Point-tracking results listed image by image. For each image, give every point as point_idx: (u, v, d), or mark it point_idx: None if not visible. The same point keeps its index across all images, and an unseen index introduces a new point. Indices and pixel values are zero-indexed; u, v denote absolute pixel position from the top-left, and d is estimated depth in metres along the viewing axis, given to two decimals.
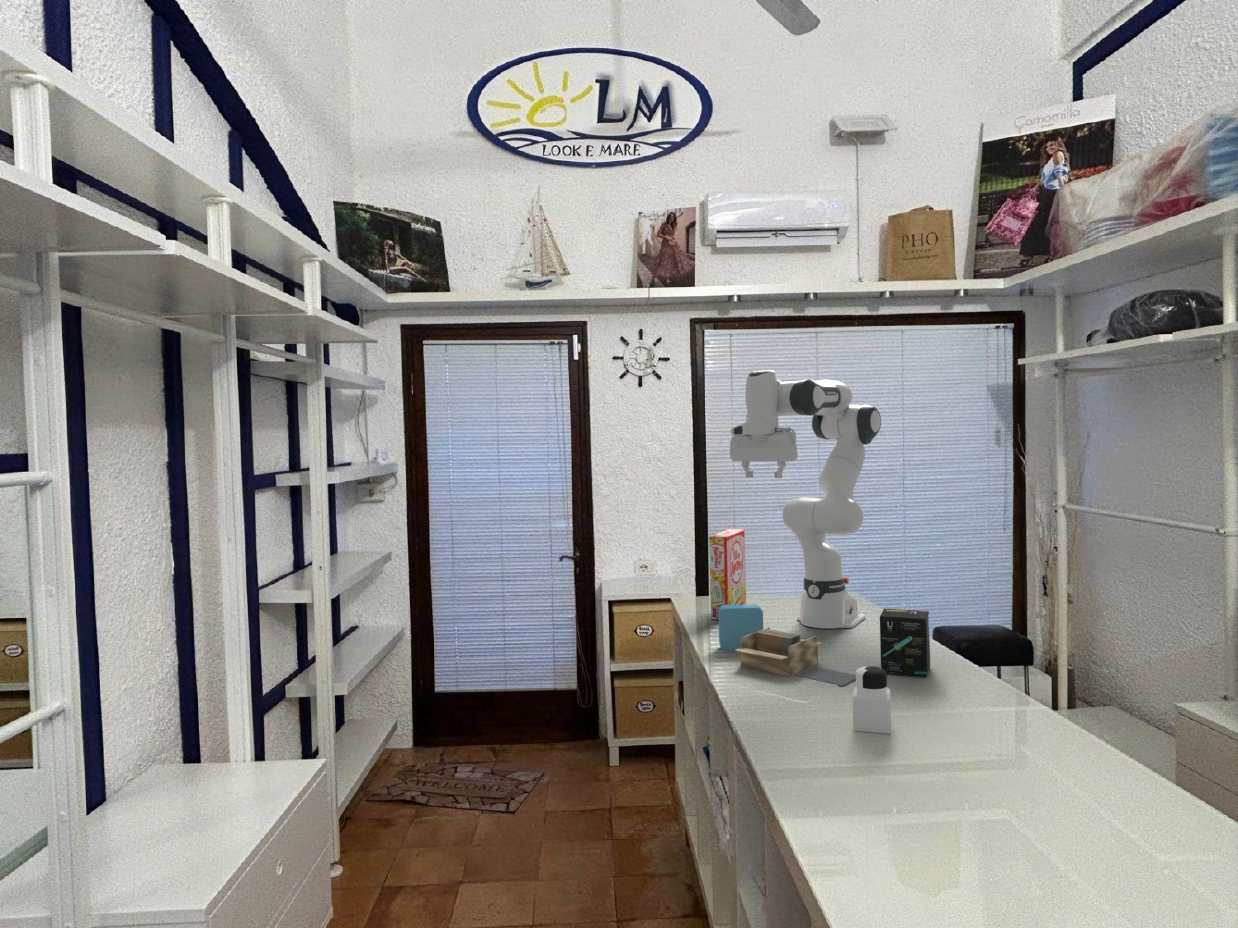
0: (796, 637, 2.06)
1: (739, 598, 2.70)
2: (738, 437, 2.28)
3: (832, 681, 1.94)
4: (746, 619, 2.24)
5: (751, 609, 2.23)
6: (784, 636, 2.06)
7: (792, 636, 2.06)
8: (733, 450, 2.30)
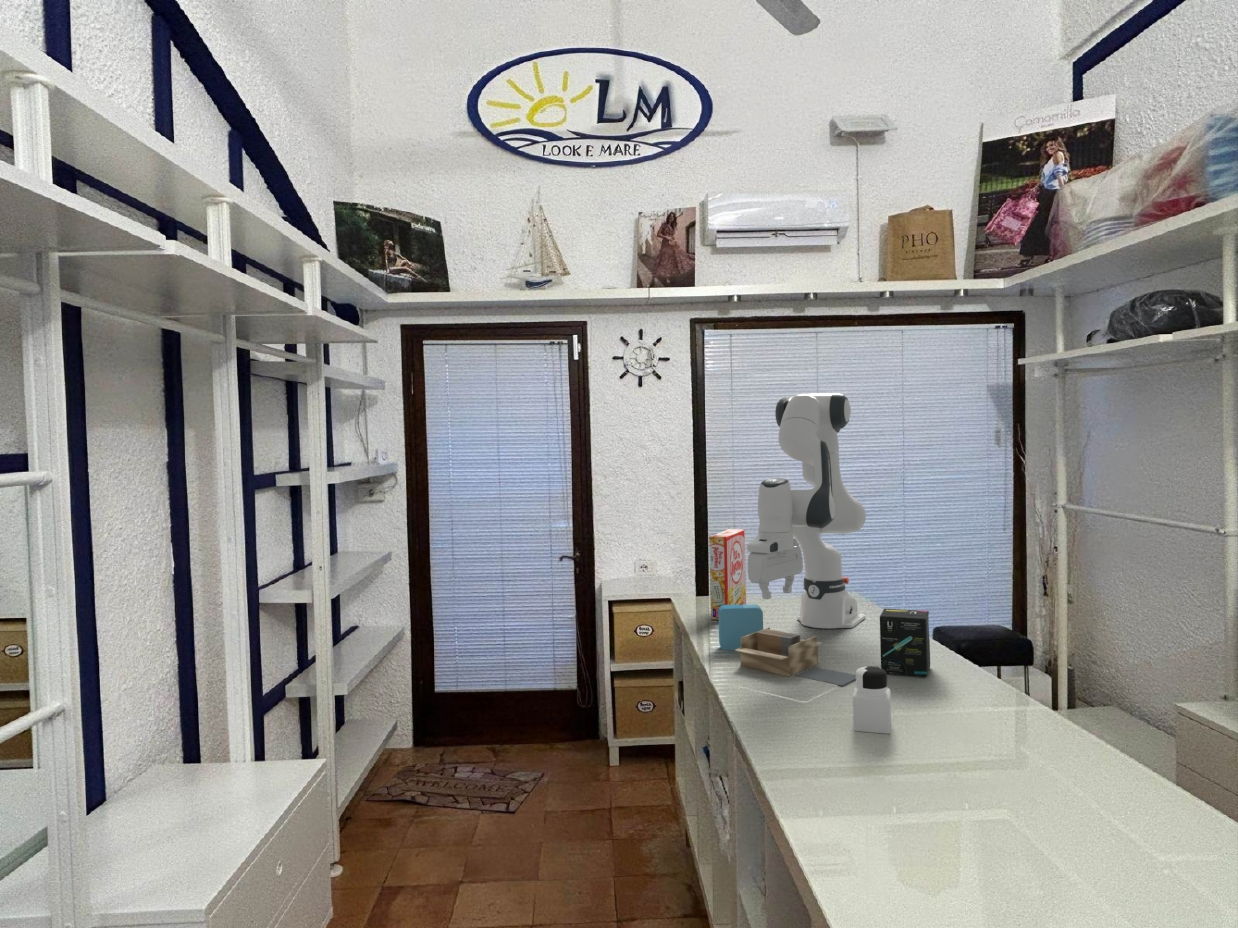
0: (796, 637, 2.06)
1: (739, 598, 2.70)
2: (771, 555, 2.02)
3: (832, 681, 1.94)
4: (746, 619, 2.24)
5: (751, 609, 2.23)
6: (784, 636, 2.06)
7: (792, 636, 2.06)
8: (763, 571, 2.01)
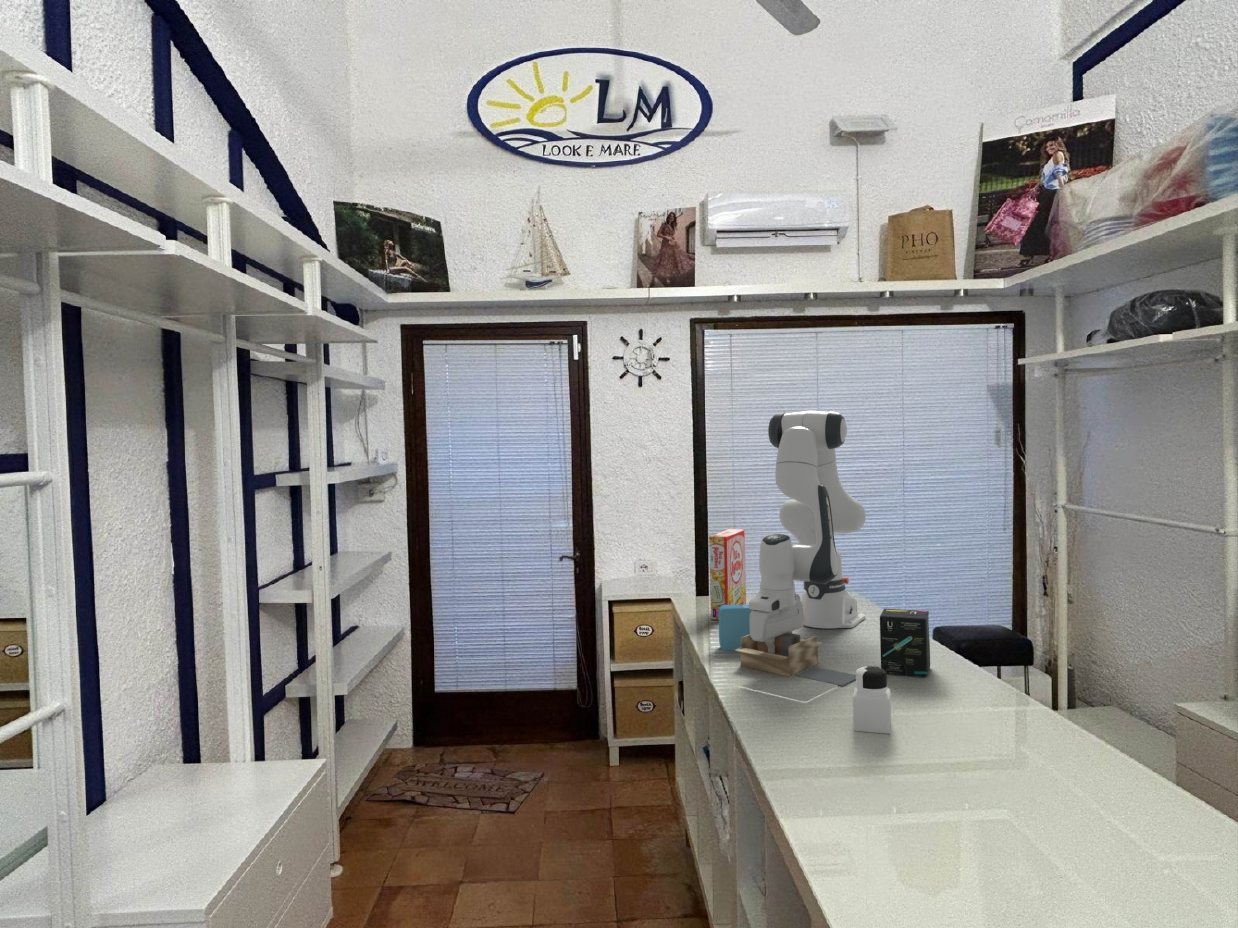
0: (796, 637, 2.06)
1: (739, 598, 2.70)
2: (773, 613, 2.03)
3: (832, 681, 1.94)
4: (746, 619, 2.24)
5: (751, 609, 2.23)
6: (784, 636, 2.06)
7: (792, 636, 2.06)
8: (765, 629, 2.02)
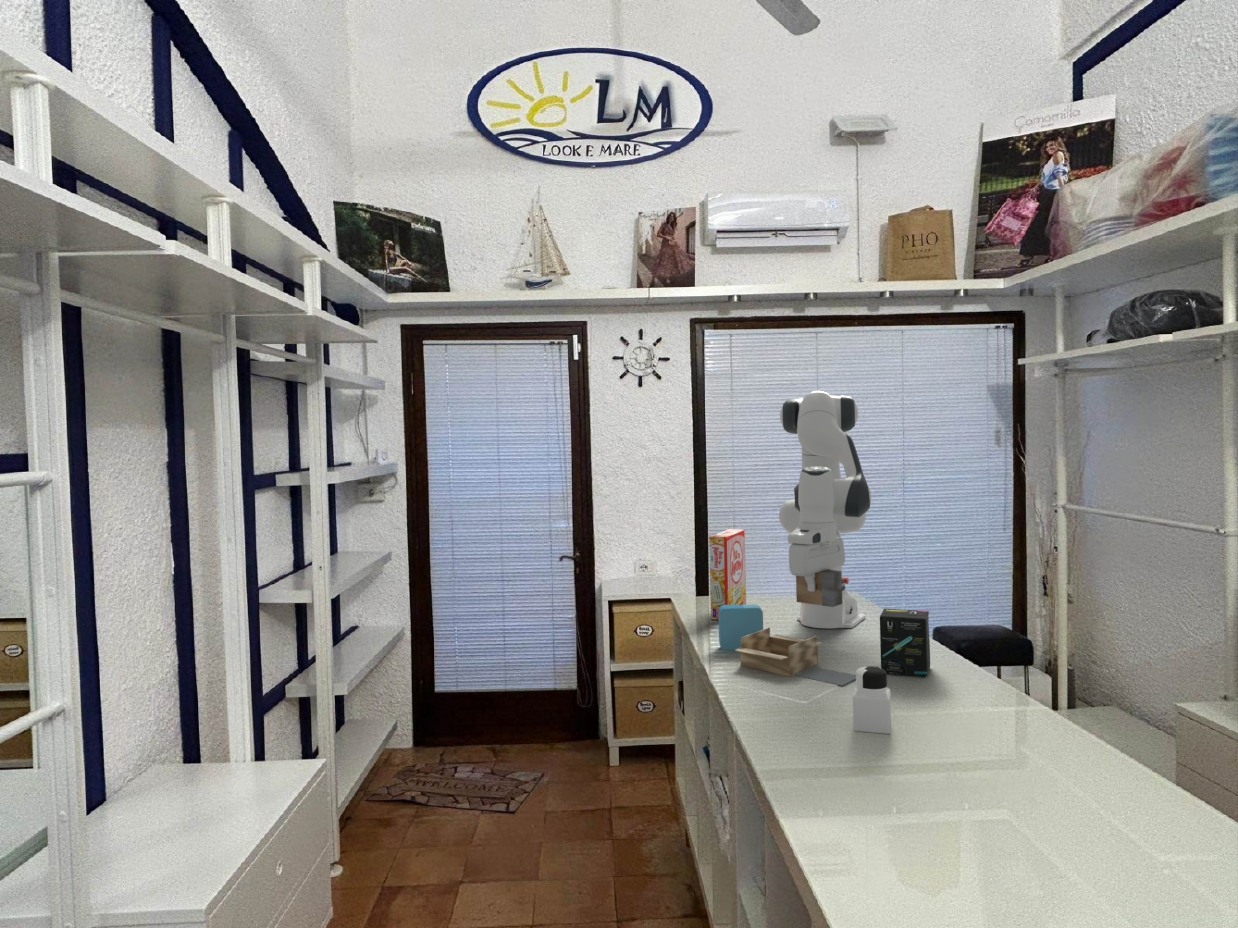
0: (837, 573, 1.96)
1: (739, 598, 2.70)
2: (814, 546, 1.92)
3: (832, 681, 1.94)
4: (746, 619, 2.24)
5: (751, 609, 2.23)
6: (825, 572, 1.96)
7: (833, 572, 1.95)
8: (806, 563, 1.91)
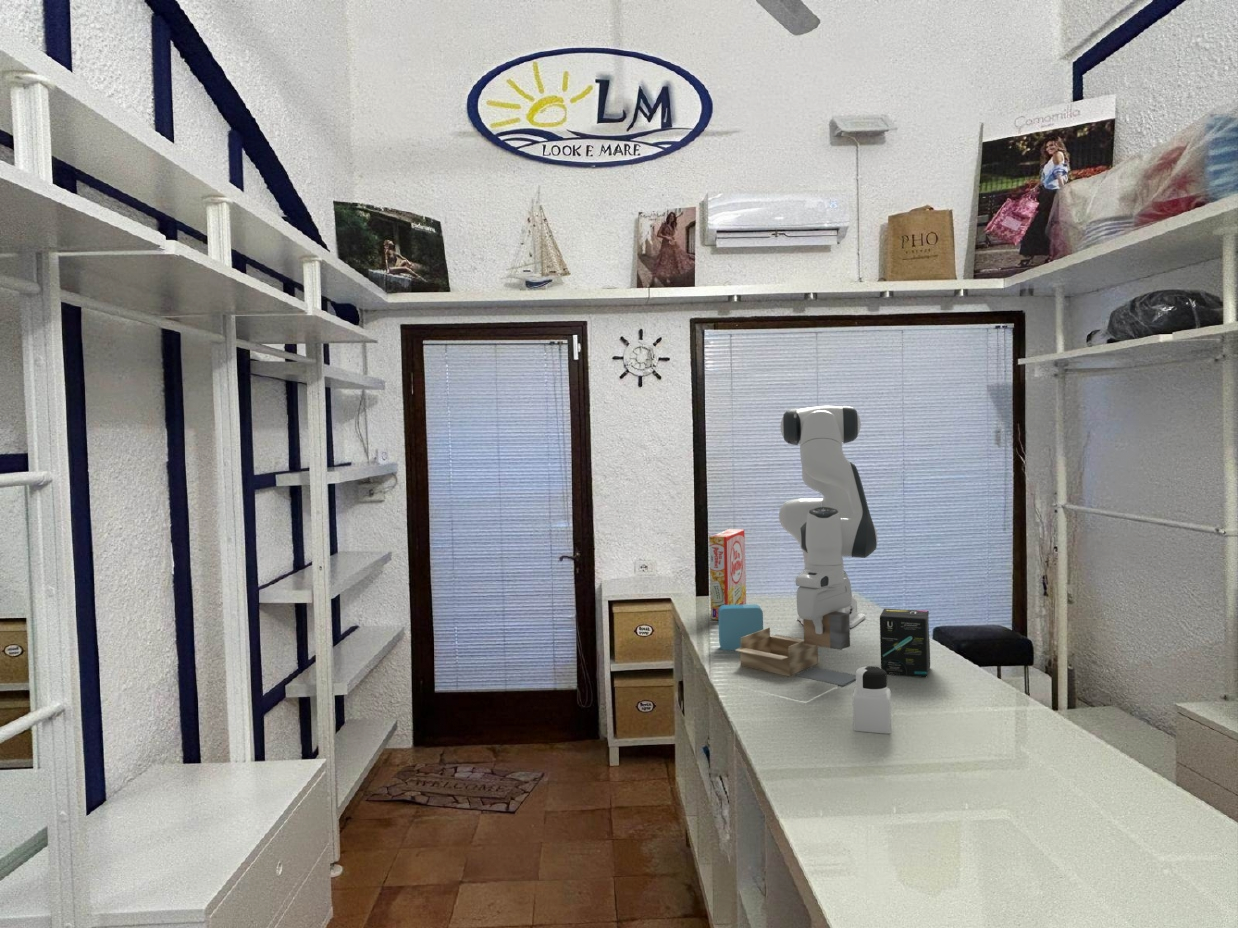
0: (845, 615, 1.95)
1: (739, 598, 2.70)
2: (821, 589, 1.91)
3: (832, 681, 1.94)
4: (746, 619, 2.24)
5: (751, 609, 2.23)
6: (833, 614, 1.95)
7: (841, 614, 1.95)
8: (814, 606, 1.90)
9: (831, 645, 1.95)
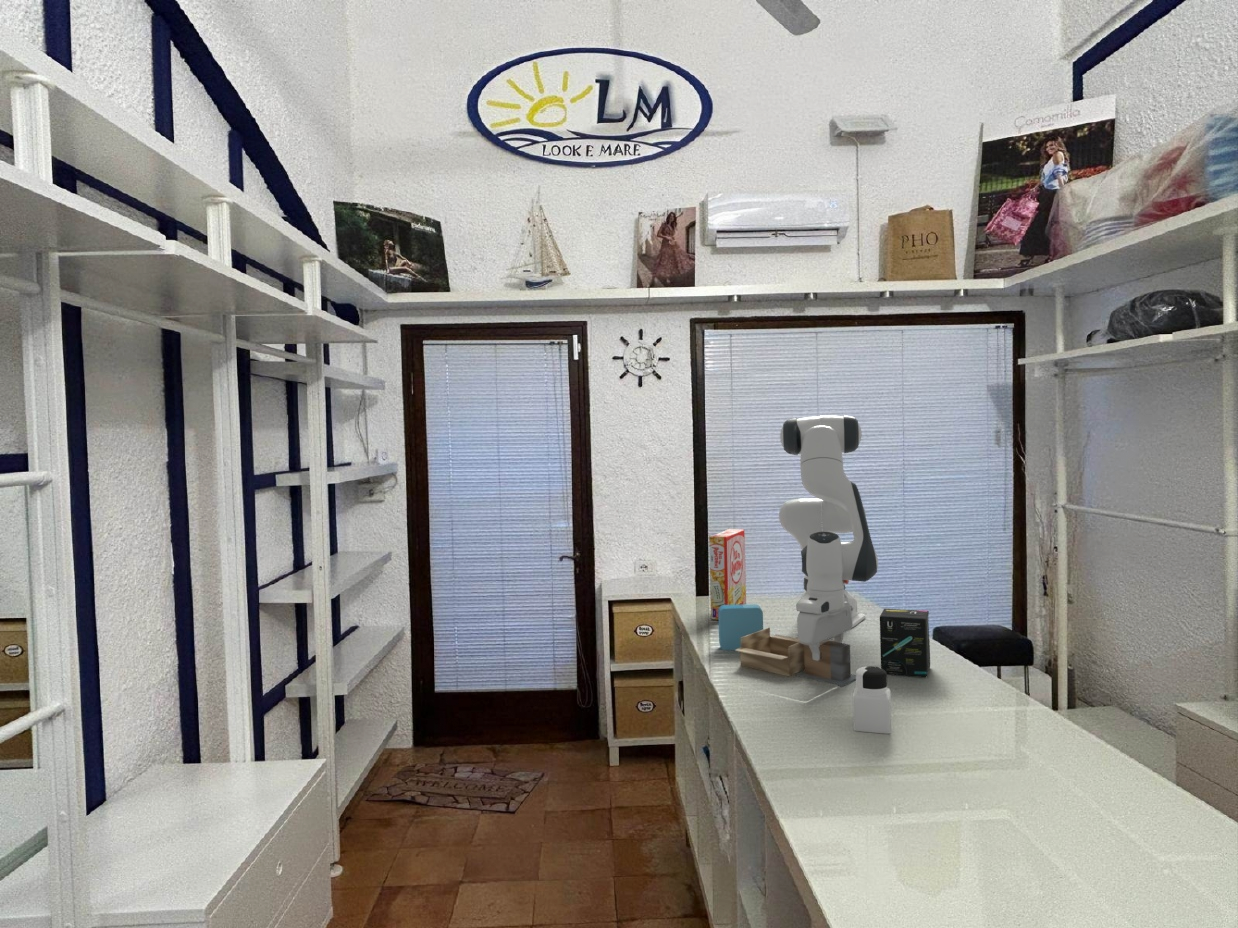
0: (846, 647, 1.95)
1: (739, 598, 2.70)
2: (822, 615, 1.92)
3: (832, 681, 1.94)
4: (746, 619, 2.24)
5: (751, 609, 2.23)
6: (833, 646, 1.95)
7: (842, 646, 1.95)
8: (814, 632, 1.91)
9: (832, 676, 1.95)
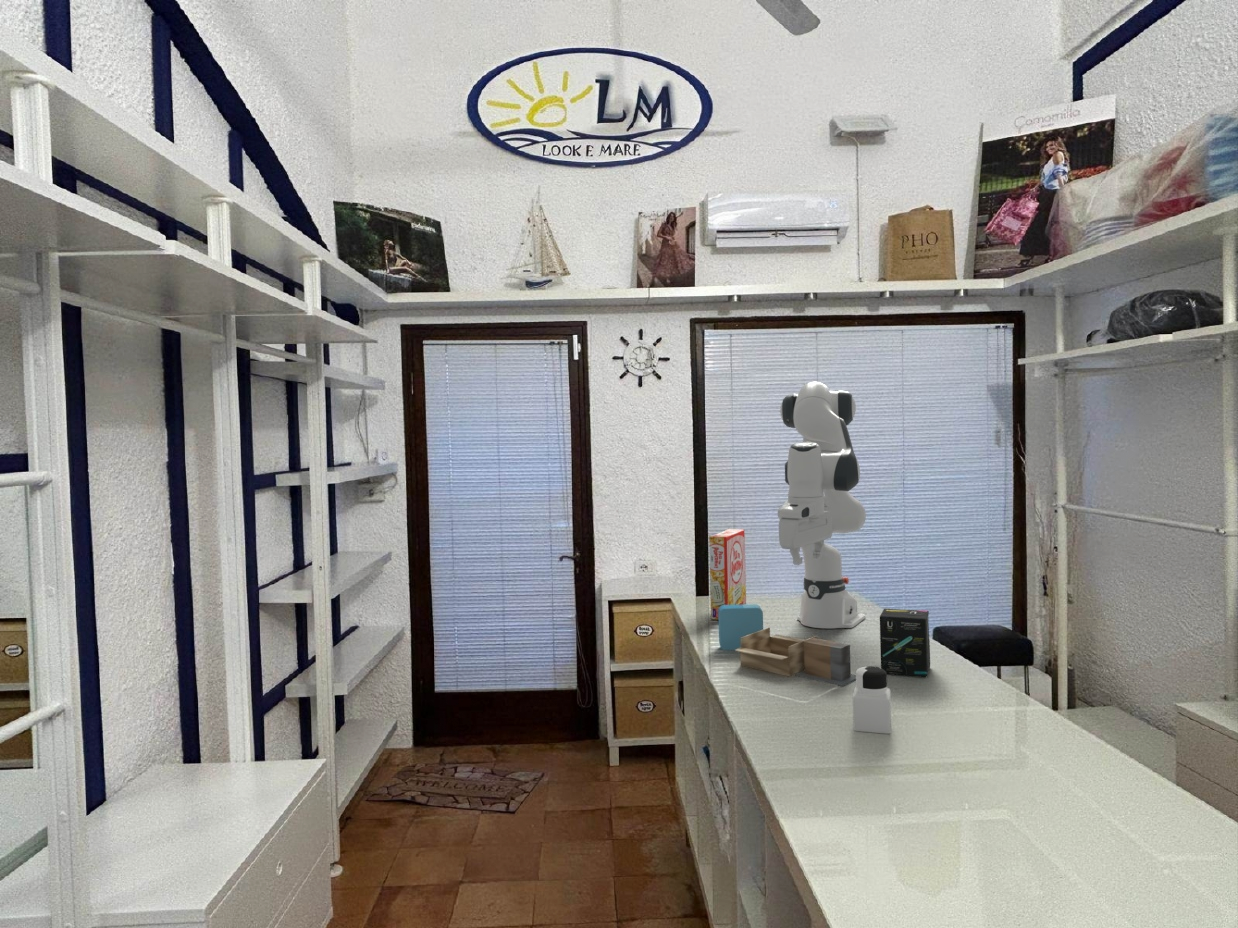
0: (846, 647, 1.95)
1: (739, 598, 2.70)
2: (802, 520, 1.98)
3: (832, 681, 1.94)
4: (746, 619, 2.24)
5: (751, 609, 2.23)
6: (833, 646, 1.95)
7: (842, 646, 1.95)
8: (795, 536, 1.97)
9: (832, 676, 1.95)
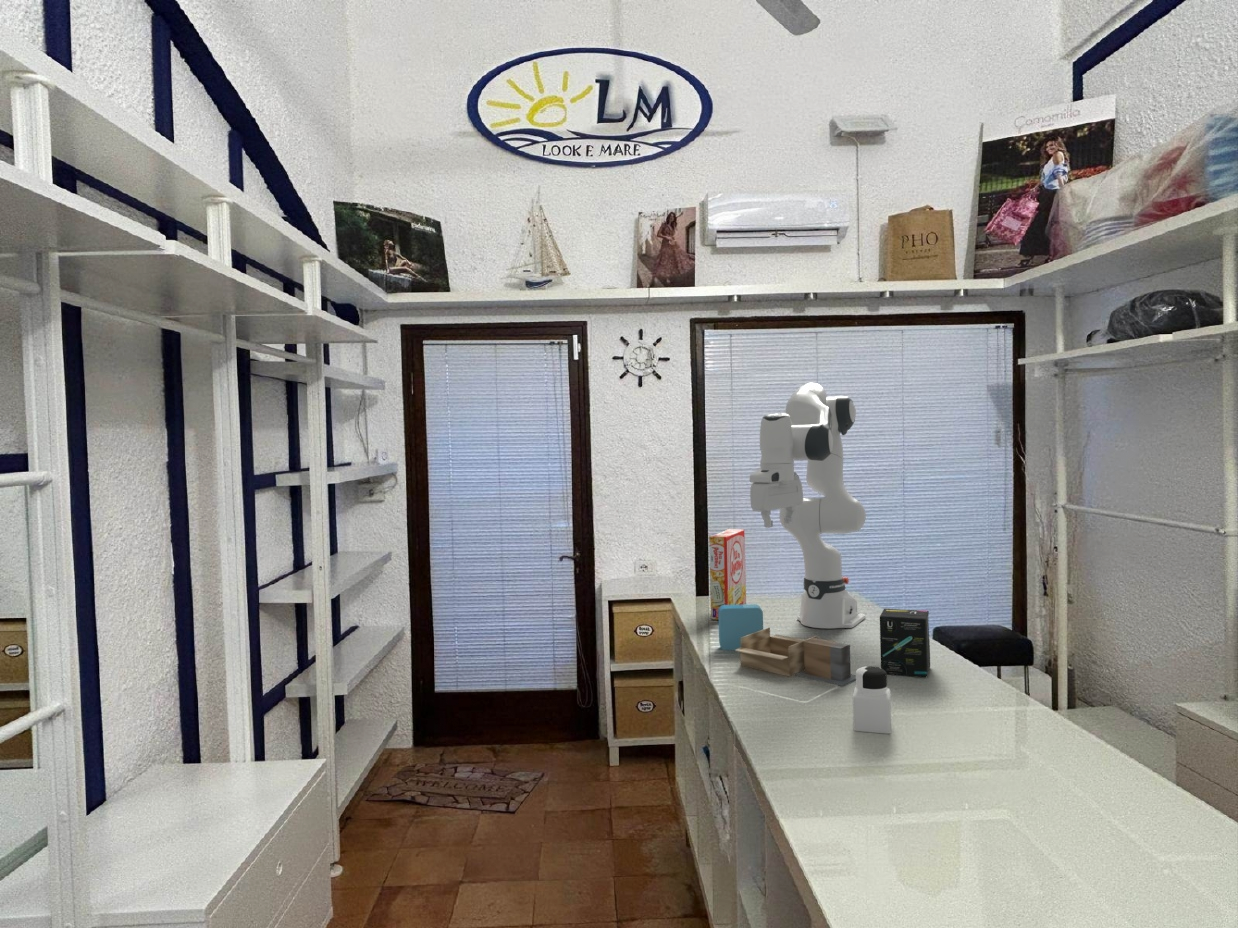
0: (846, 647, 1.95)
1: (739, 598, 2.70)
2: (773, 484, 2.11)
3: (832, 681, 1.94)
4: (746, 619, 2.24)
5: (751, 609, 2.23)
6: (833, 646, 1.95)
7: (842, 646, 1.95)
8: (765, 499, 2.10)
9: (832, 676, 1.95)
